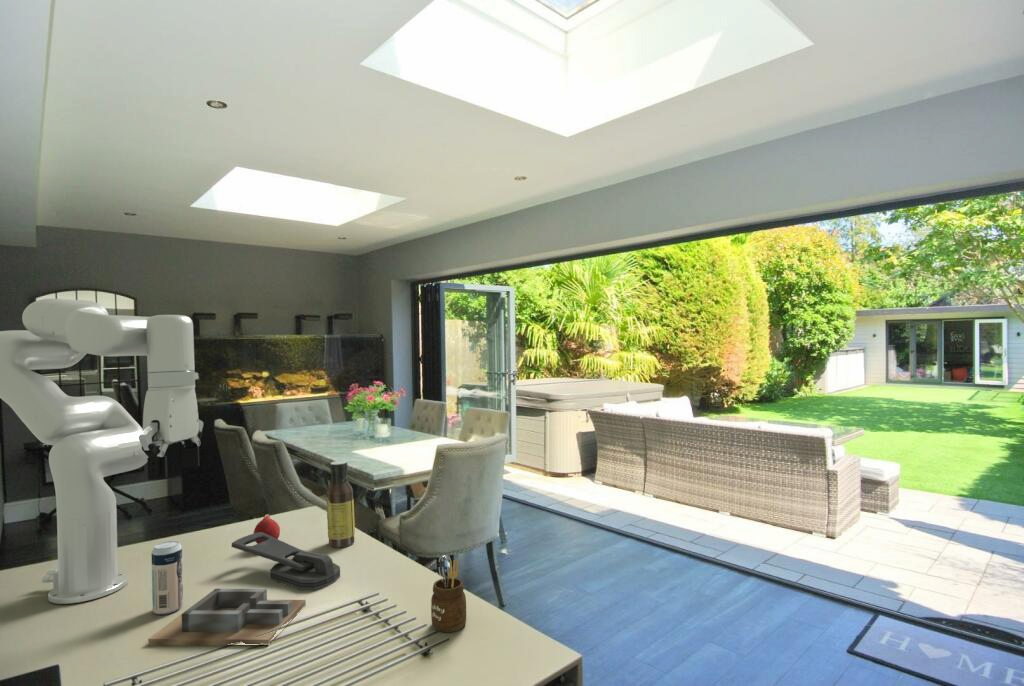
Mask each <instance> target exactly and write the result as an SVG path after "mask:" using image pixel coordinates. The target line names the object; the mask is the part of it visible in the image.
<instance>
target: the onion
mask: <svg viewBox="0 0 1024 686" xmlns="http://www.w3.org/2000/svg"><path fill="white" fill-rule="evenodd" d="M258 532H263V533H265V534H267V535H269V536H272V537H274V538H276V539H278V540H279V537H280V533H281V529H280V525H279V524H278V522H276V520H274V519H272V518H271V516H270V514H265V515H264V517H263V518H262V520H260V521H259V522H257V524H256V525H255V528H254V530H253V533H252V534H254V533H258ZM264 541H266V540H263V539H262V540H258V541H255V542H254V543H255V544H259V543H261V542H264Z"/></svg>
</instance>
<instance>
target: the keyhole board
mask: <svg viewBox="0 0 1024 686" xmlns="http://www.w3.org/2000/svg"><path fill="white" fill-rule="evenodd" d="M267 591H268V589H267V588H214V589H213V590H212V591H210V592H209V593H208V594H206V595H205V596H203V597H202V598H201V599H199V600H198V601H197V602H196V603H195V604H193V605H192V606H189V608H188V609H186V610H185V611H183V612H182V613H181V614H179V615H178V616H177V617H175V618H174V619H173V620H172V621H169V623H168V624H166V625H165V626H164V627H162V628H161V629H160V630H158V631H157V632H156V633H154V634H152V635H151V636H150V637H149V638H148V639H147V640H148V642H147V643H148V646H214V647H215V646H223V645H228V644H231V643H236V642H240V641H242V642H243V643H245V644H261V643H267V644H268V643H269V641H270V640H271V639H272V638H273V637H274V635H275V634H276V632H277V631H275V632H272V633H268V634H265V635H262V636H258V637H255V636H257V635H260V634H264V633H267V632H270V631H272V630H274V629H277V628H280V627H281V626H282V625H284V624H286V623H287V622H289V621H290V620H291V619H293V618H294V619H295V618H296V616H297V615H298V614H299V613H300V612H301V611H302V610H303V609H302V608H303V607H306V602H307V601H306V599H268V592H267ZM301 609H302V610H301ZM300 610H301V611H300ZM299 611H300V612H299ZM298 612H299V613H298ZM297 613H298V614H297ZM294 619H293V620H294Z"/></svg>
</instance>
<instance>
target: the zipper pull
mask: <svg viewBox="0 0 1024 686" xmlns="http://www.w3.org/2000/svg"><path fill="white" fill-rule="evenodd" d="M253 533H254V532H253ZM253 533H252V534H248V535H245V536H242V537H240V538H238V539H236V540H235V541H233V542H231V548H234V549H236V550H240V551H243V552H246V553H249V554H253V555H254V556H255V555H256V556H258V557H260V558H264V559H268V560H271V561H272V562H276V563H275V564H274V565H273V566H272V567H271V568H270V570H269V578H270V581H272V582H275V583H279V584H281V583H282V585H284V584H285V585H284V586H287V587H291V588H295V589H296V590H299V591H318V590H320V589H324V588H326V587H329V586H332V585H333V584H334V583H336V582H337V581H338V580H339V579H340V578H341V567H340V565H338V564H336V563H335V562H333V560H332V559H333V558H331V556H329V555H327V554H322V553H318V552H313V551H308V550H307V551H306V550H303V549H300V548H298V547H296V546H294V545H291V544H289V543H287V542H284V541H283V540H280V539H279V538H278V539H276V538H274V537H272V536H269V535H267V534H265V533H263V532H258V533H254V534H253ZM262 539H263V540H266V541H264V542H261V543H259V544H257V543H256V542H255V541H258V540H262ZM252 543H255V544H254V545H248V544H252ZM290 557H292V558H290Z"/></svg>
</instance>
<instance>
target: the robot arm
mask: <svg viewBox="0 0 1024 686" xmlns="http://www.w3.org/2000/svg"><path fill="white" fill-rule="evenodd" d="M21 318H22V319H21V321H22V324H23V326H24V327H25V330H22V329H21V330H20V329H19V330H18V329H17V330H15V329H14V330H13V329H12V330H0V399H1V400H2V401H3V402H4V403H6V404H7V405H8V406H9V407H10V408H11V409H12V410H13V412H14V413H15V414H16V416H17V417H18V418H19V419H20V420H21V422H22V423H23V424H24V425H25V426H26V427H27V429H28V430H29V431H30V432H31V434H33V435H34V437H36V438H37V440H38V441H39V442H41V443H43V444H44V445H50V446H52V447H51V449H50V451H49V455H48V465H49V469H50V472H51V476H52V480H53V485H54V490H55V504H56V505H55V506H56V524H57V525H56V529H57V531H56V532H57V535H56V537H57V540H56V541H57V568H49V569H48V570H47V572H46V574H45V575H44V576H42V578H41V581H42V583H52V586H53V587H52V589H51V590H49V592H48V594H47V597H48V598H47V599H48V601H49V602H50V603H53V604H57V605H67V604H68V605H69V604H77V603H83V602H89V601H93V600H96V599H99V598H103V597H105V596H108V595H111V594H112V593H115V592H117V591H119V590H120V589H122V588H124V586H126V585H127V583H128V575H126V574H125V573H124V572H123V573H122V572H119V570H118V569H119V567H118V566H119V565H118V561H119V560H118V559H119V558H118V526H117V525H118V524H117V523H118V519H117V517H118V515H117V511H118V510H117V497H116V495H115V492H114V491H113V490H112V488H111V487H110V486H109V485H108V484H107V482H105V479H104V478H106V477H109V476H113V475H118V474H121V473H126V472H130V471H134V470H137V469H139V468H141V467H144V466H145V465H146V464H147V479H148V480H149V481H155V480H158V481H159V480H166V479H168V456H167V455H165V454H166V451H167V449H168V448H169V445H173V444H176V443H180V442H181V444H182V447H181V448H180V449H181V467H182V469H191V468H192V469H193V468H198V467H200V446H201V439H202V436H203V428H204V422H203V420H201V419H199V410H198V409H199V408H198V401H197V393H196V375H195V374H196V371H195V368H196V367H195V342H194V341H195V340H194V339H195V337H194V322H193V319H191V317H189V316H187V315H182V314H157V315H153V316H140V315H139V316H138V315H120V314H119V315H117V314H115V315H114V314H109V312H108V311H107V309H106V308H105V307H104V306H103V305H102V304H100V303H98V302H95V301H93V300H81V299H66V298H65V299H64V298H44V299H38V300H36V301H33V302H31V303H30V304H28V305H27V306H26V308H24V310H23V313H22V316H21ZM87 354H89V355H95V356H98V357H99V356H102V357H131V356H132V357H135V356H139V357H140V356H141V357H143V356H146V358H147V359H146V362H147V364H146V365H147V366H146V367H147V387H148V389H147V390H146V393H145V398H144V403H143V416H142V426H141V425H140V424H139V423H138V421H136V420H135V419H134V418H133V416H132V415H131V414H130V413H129V412H128V411H127V410H126V408H124V406H123V405H122V404H121V403H119V402H118V401H117V400H116V399H114V398H112V397H109V396H106V395H85V396H83V395H82V396H71V395H68V394H66V393H65V392H64V391H63V390H62V389H61V388H60V387H59V386H58V385H57V384H56V383H55V382H54V381H53V380H52V379H50V378H48V377H47V376H44V375H42V374H40V373H38V372H36V371H35V370H53V369H54V370H57V369H65V368H70V367H72V366H74V365H75V364H77V363H79V362H80V361H81V360H82V359H83V358H84V357H85V356H86V355H87ZM33 370H34V371H33Z"/></svg>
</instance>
